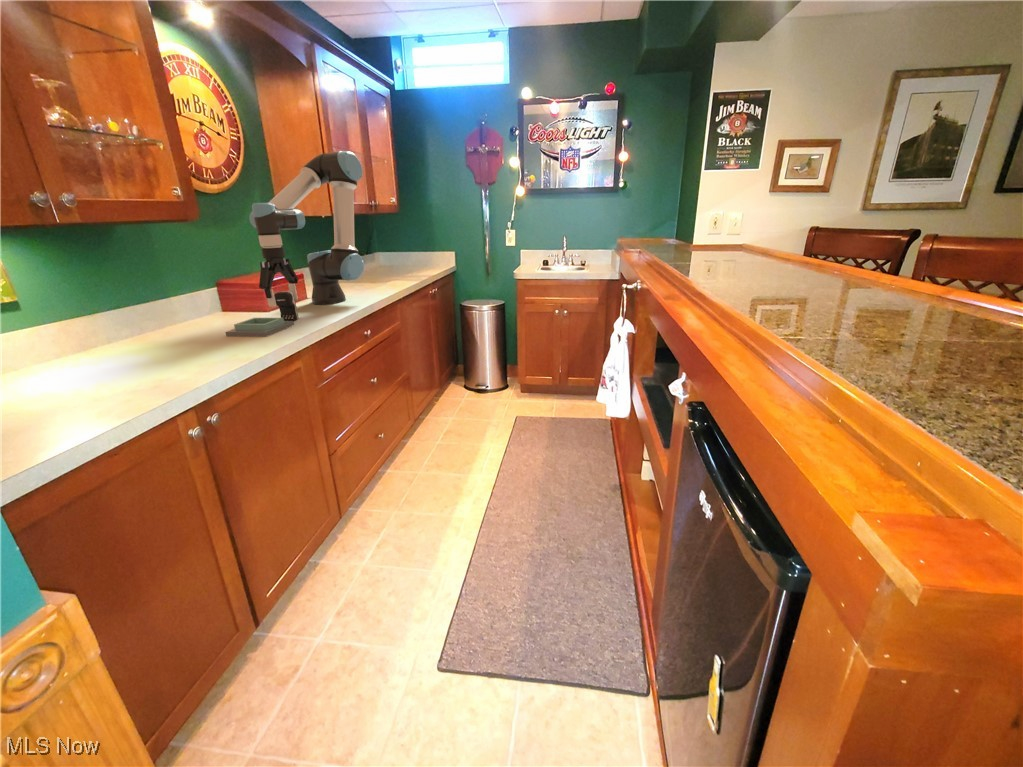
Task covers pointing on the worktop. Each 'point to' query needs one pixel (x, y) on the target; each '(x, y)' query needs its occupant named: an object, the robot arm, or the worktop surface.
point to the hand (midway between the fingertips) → (284, 303)
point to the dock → (259, 327)
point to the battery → (286, 305)
